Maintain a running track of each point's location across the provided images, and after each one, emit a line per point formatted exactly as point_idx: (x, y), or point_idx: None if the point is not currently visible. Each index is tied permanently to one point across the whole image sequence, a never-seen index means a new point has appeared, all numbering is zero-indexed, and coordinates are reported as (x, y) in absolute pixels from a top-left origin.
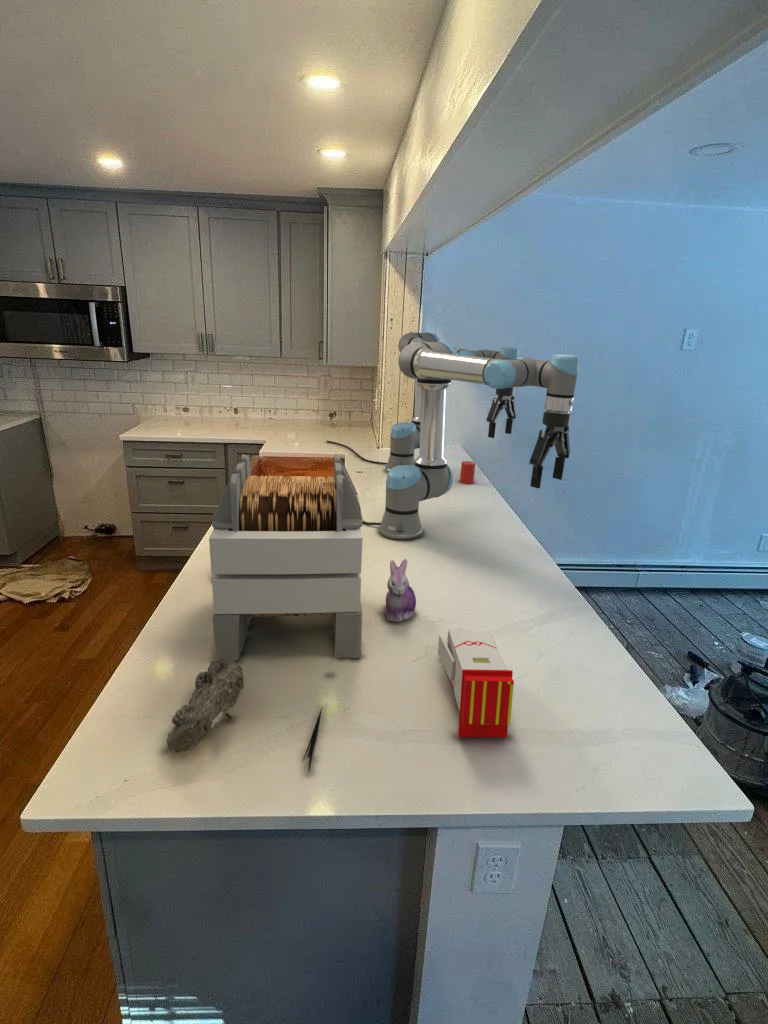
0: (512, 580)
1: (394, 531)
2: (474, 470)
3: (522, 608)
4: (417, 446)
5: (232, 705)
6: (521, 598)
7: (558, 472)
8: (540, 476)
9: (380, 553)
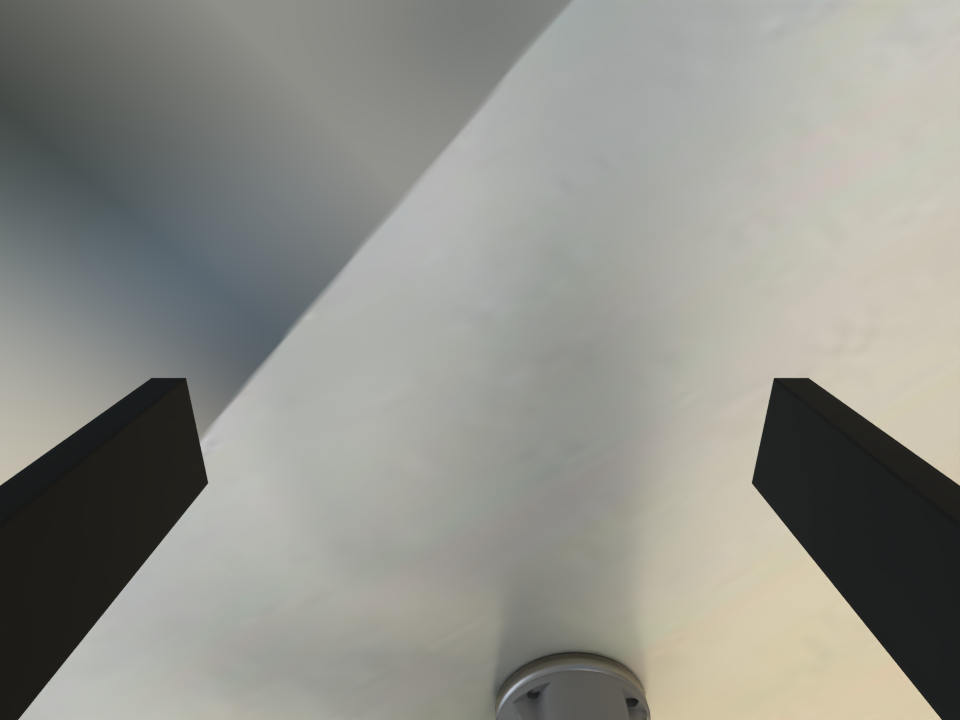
0: (659, 235)
1: (644, 714)
2: None
3: (885, 61)
4: None
5: None
6: (797, 116)
7: (141, 472)
8: (935, 468)
9: (766, 649)
